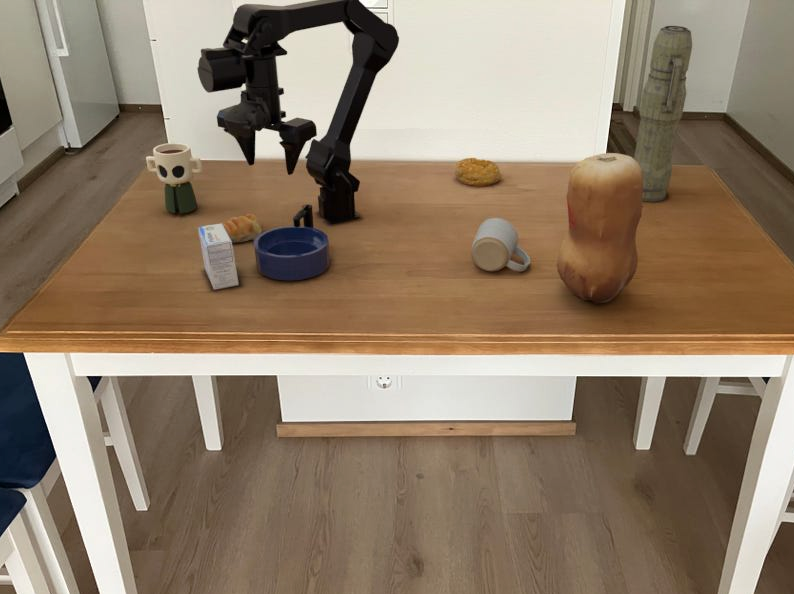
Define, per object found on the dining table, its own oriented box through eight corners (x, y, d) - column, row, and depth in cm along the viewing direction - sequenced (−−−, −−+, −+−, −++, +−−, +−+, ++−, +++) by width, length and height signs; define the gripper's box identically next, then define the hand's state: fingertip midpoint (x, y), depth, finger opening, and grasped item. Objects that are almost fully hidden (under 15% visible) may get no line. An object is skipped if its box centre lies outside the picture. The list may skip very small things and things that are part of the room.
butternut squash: (550, 277, 140) (566, 140, 126) (624, 280, 140) (648, 143, 126) (557, 316, 128) (575, 170, 114) (638, 319, 128) (666, 174, 114)
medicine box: (239, 286, 134) (232, 240, 129) (213, 291, 132) (205, 244, 128) (229, 266, 140) (223, 222, 135) (204, 271, 138) (197, 226, 134)
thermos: (655, 183, 180) (684, 22, 160) (675, 203, 170) (709, 34, 151) (618, 184, 179) (644, 22, 159) (636, 204, 169) (665, 34, 150)
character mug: (150, 216, 157) (137, 153, 150) (160, 202, 163) (149, 141, 156) (204, 217, 158) (194, 155, 150) (212, 203, 163) (203, 143, 156)
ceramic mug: (468, 271, 141) (470, 232, 136) (476, 252, 147) (479, 214, 143) (526, 279, 139) (530, 240, 135) (532, 259, 146) (536, 222, 141)
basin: (312, 245, 148) (310, 220, 146) (341, 272, 139) (340, 247, 136) (247, 259, 143) (243, 234, 140) (272, 289, 133) (269, 263, 131)
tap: (305, 242, 149) (301, 200, 144) (322, 244, 149) (319, 202, 144) (289, 259, 143) (285, 215, 138) (308, 261, 143) (304, 218, 138)
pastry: (220, 249, 146) (217, 230, 143) (205, 237, 150) (202, 219, 148) (265, 237, 151) (263, 218, 148) (249, 225, 155) (247, 207, 153)
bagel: (502, 188, 175) (503, 168, 172) (453, 187, 175) (454, 166, 172) (500, 172, 183) (501, 153, 181) (454, 171, 183) (454, 151, 181)
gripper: (188, 85, 134) (202, 173, 143) (274, 102, 127) (283, 193, 135) (232, 72, 142) (243, 155, 151) (315, 87, 135) (321, 174, 144)
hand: (270, 169), depth 145 cm, fingers open, 9 cm apart
